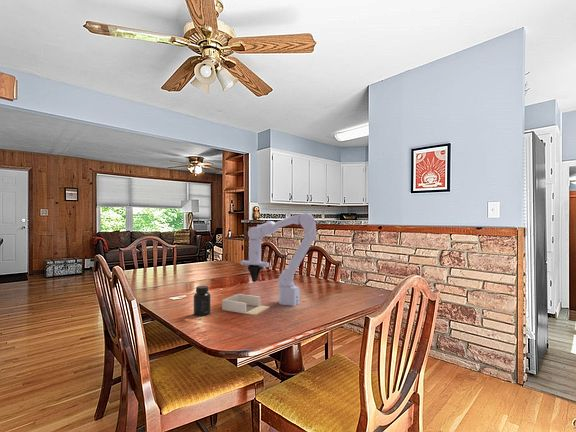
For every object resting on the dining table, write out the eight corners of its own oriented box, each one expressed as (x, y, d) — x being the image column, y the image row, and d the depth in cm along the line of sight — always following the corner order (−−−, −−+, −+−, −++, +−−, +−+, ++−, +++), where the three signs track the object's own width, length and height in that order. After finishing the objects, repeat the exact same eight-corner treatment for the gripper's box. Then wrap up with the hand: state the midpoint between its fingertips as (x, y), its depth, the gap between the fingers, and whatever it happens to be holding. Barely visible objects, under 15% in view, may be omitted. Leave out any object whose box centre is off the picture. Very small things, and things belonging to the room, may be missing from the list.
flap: (261, 307, 140) (269, 308, 138) (246, 314, 129) (255, 315, 127) (261, 305, 140) (269, 306, 138) (246, 313, 129) (255, 314, 127)
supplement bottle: (190, 315, 129) (190, 286, 129) (205, 312, 134) (205, 284, 134) (198, 319, 124) (198, 289, 124) (213, 315, 129) (213, 286, 129)
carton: (260, 307, 140) (260, 296, 140) (245, 315, 129) (245, 303, 129) (238, 304, 145) (238, 293, 145) (222, 311, 135) (222, 299, 135)
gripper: (272, 252, 147) (272, 281, 147) (246, 250, 154) (246, 278, 154) (264, 254, 141) (264, 284, 141) (238, 252, 148) (238, 280, 148)
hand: (254, 281), depth 147 cm, fingers closed
